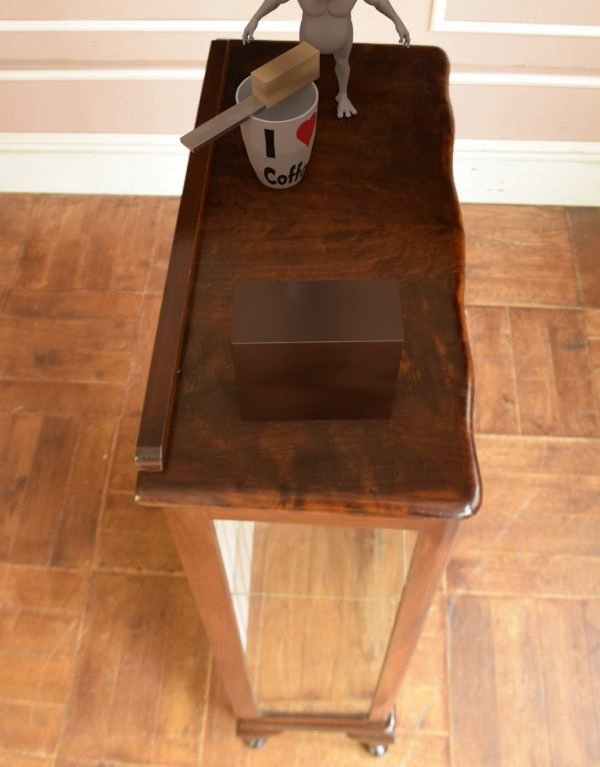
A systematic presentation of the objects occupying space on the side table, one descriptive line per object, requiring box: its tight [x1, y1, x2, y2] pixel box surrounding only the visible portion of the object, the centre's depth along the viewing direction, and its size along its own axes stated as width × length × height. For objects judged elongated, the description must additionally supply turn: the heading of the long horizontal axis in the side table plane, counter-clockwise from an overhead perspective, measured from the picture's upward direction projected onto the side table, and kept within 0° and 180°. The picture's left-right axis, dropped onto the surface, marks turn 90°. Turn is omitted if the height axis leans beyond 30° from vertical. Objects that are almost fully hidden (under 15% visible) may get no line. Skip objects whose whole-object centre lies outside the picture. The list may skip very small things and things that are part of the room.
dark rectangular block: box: [230, 278, 405, 422], centre depth 65 cm, size 13×6×12 cm, turn 91°
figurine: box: [241, 0, 411, 119], centre depth 82 cm, size 18×7×18 cm, turn 88°
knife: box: [179, 41, 321, 154], centre depth 74 cm, size 16×2×3 cm, turn 133°
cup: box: [235, 75, 319, 190], centre depth 80 cm, size 8×8×10 cm
